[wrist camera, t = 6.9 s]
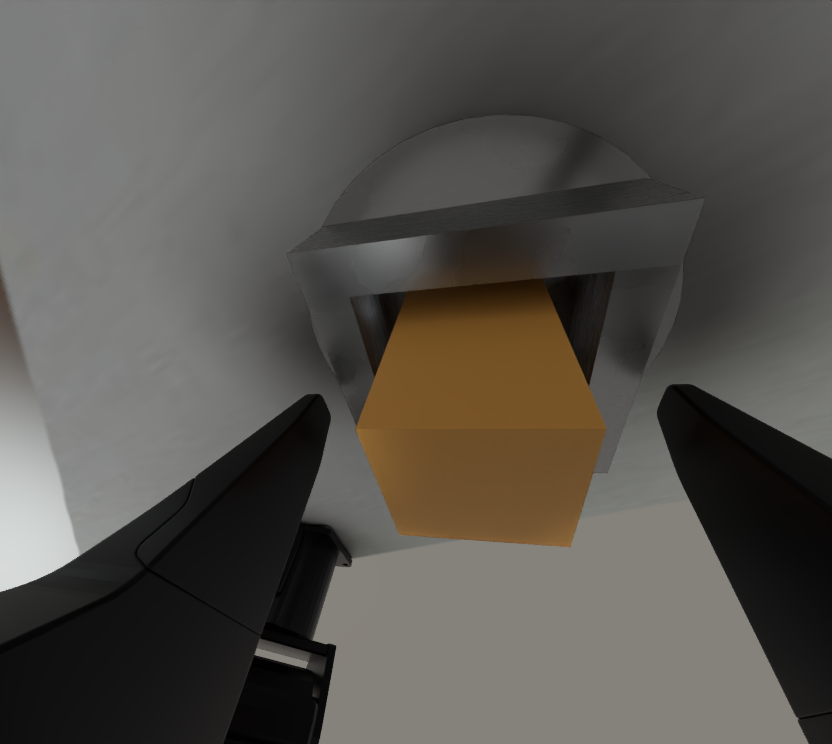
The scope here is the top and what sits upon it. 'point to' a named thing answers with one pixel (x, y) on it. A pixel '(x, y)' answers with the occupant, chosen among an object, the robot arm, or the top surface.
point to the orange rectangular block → (482, 417)
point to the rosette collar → (504, 248)
